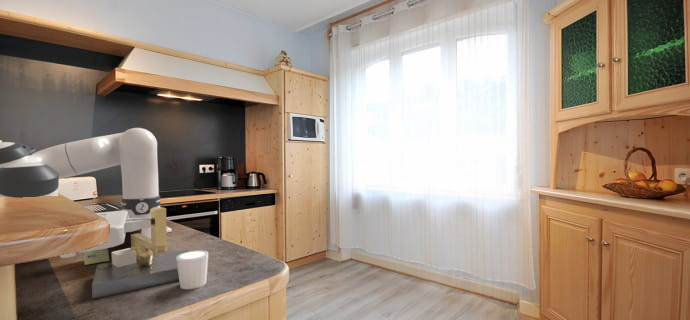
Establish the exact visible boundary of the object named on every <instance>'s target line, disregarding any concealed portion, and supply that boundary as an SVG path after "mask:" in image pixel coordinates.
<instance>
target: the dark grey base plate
mask: <svg viewBox="0 0 690 320" xmlns="http://www.w3.org/2000/svg"><path fill="white" fill-rule="evenodd" d="M185 252H189V251H188V250H187V249H182V250H177V251H172V252H166V253H165V252H163V253H157V254H153V263H152V264H150V265H146V266H140V265H139V259H138V260H136V262H137V263H133V264H130V265H126V266H122V267H116V266H114V265H113V264H112V262H111V263H110V262H107V263H99V264H97V265H96V269H95V273H94V277H93V279H92V283H91V292H92V294H91V295H92V296H91V297H92V298H91V299H92V300H94V299H98V298H103V297H107V296H108V297H109V296H113V295H117V294H122V293H126V292H130V291H135V290H139V289H144V288H149V287H153V286H159V285H162V284H168V283H172V282H177V281H179V275H178V267H177V260H176V257H177V256H178V255H180V254H182V253H185ZM158 284H159V285H158Z"/></svg>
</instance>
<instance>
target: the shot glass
mask: <svg viewBox="0 0 690 320" xmlns="http://www.w3.org/2000/svg"><path fill="white" fill-rule="evenodd" d="M176 260H177V267H178V275H179V280H178V281H179V287H180V288H181V289H182V290H193V289H197V288H201V287H203V286H205V285H206V284H207V278H208V265H209V251H207V250H201V249H200V250H190V251H188V252H185V253H182V254H180V255H178V256H177V257H176Z"/></svg>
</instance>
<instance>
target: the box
mask: <svg viewBox="0 0 690 320" xmlns="http://www.w3.org/2000/svg"><path fill="white" fill-rule="evenodd" d="M128 218H129V215H128ZM83 257H84V258H83V259H84V266H88V265H91V264H97V263H104V262H110V260H109V255H108V250H107V248H105V249H100V250H95V251H89V252H83Z"/></svg>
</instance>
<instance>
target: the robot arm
mask: <svg viewBox="0 0 690 320" xmlns="http://www.w3.org/2000/svg"><path fill="white" fill-rule="evenodd" d="M157 140H158V139H157V138H156V137H155V135H154V134H153V133H152V132H151V131H149V130H148V129H146V128H142V127H133V128H129V129H126V130H125V131H123V132H120V133H119V132H118V133H114V134H107V135H101V136H95V137H90V138H86V139H81V140H76V141H70V142H66V143H62V144H57V145H54V146H53V145H52V146H50V147H47V148H44V149H41V150H38V151H37V149H36V148H35V147H29V146H28V145H26V144H24V143H20V142H16V141H11V142H10V141H1V142H0V197H13V198H23V197H40V196H59V187H60V186H59V183H60V182H59V181H60V179H65V178H70V177H75V176H79V175H83V174H88V173H92V172H96V171H100V170H104V169H107V168H108V169H109V168H111V167H112V168H113V167H116V166H120V169H121V170H120V171H121V183H122V198H121V201H120V204H121V210H115V211H114V210H113V211H105V212H98V213H95V214H97V215H99V216H101V217H103V218H105V219H106V220H107V221H108V222H109V224H110V233H109V240H108V241H107V242H106V243H103V244H101V245H99V246H96V247H93V248H90V249H87V250H83V251H78V252H73V253H69V254H64V255H60V256H59V257H60V258H61V259H67V258H73V257H76V255H78V254H79V253H80V254H81V253H82V254H84V252H89V251H95V250H100V249H105V248H110V247H114V246H118V245H120V244H123V243H124V239H125V235H126V232H132V231H136V230H139V229H142V230H141V234H142V235H144V236H146V237H149V238H151V213H150V209H153V208H160V207H161V202H162V201H161V195H160V194H159V193H160V192H159V191H160V189H159V168H158V167H159V164H158V141H157ZM128 215H129V218H128ZM170 232H173V230H172V228H171V227H169V226H167V234H168V233H170Z"/></svg>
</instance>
